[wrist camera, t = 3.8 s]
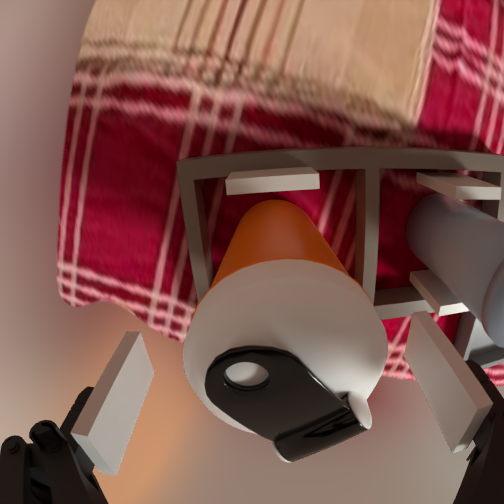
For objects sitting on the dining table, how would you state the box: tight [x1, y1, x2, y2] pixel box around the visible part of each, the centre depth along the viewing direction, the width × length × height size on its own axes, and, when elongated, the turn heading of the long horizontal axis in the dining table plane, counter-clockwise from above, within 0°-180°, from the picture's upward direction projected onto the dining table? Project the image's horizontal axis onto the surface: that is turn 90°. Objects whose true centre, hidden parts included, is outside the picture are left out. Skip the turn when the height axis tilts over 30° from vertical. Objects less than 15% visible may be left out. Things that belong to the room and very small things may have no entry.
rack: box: [176, 146, 504, 320], centre depth 25 cm, size 16×30×7 cm, turn 95°
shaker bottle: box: [183, 199, 388, 462], centre depth 20 cm, size 9×9×20 cm
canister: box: [405, 193, 504, 348], centre depth 21 cm, size 7×7×15 cm
